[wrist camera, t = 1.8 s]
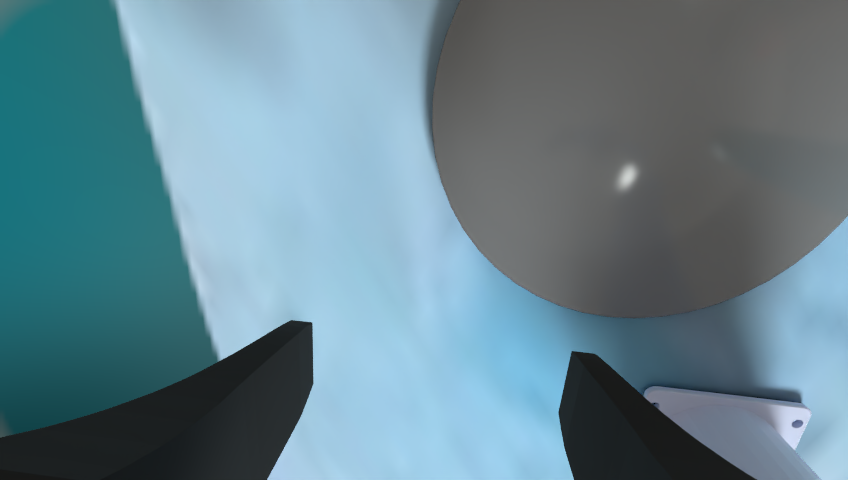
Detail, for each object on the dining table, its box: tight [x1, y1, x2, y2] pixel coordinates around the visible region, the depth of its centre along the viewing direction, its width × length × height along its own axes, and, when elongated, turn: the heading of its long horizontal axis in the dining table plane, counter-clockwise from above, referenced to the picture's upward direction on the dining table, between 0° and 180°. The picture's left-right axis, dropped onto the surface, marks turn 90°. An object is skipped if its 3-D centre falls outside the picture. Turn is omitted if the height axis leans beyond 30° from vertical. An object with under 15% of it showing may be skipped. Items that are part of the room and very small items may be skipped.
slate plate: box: [432, 0, 848, 318], centre depth 17 cm, size 18×18×1 cm
